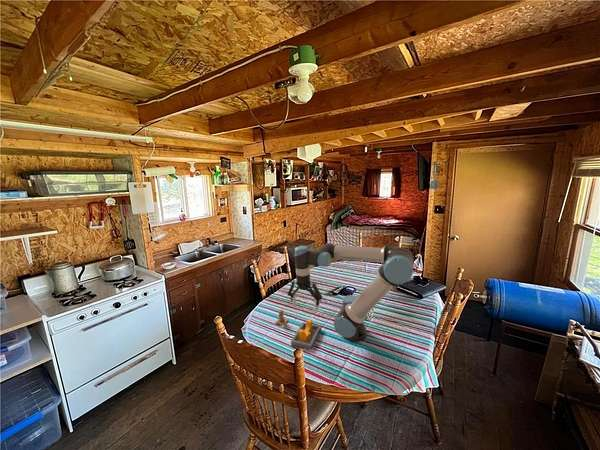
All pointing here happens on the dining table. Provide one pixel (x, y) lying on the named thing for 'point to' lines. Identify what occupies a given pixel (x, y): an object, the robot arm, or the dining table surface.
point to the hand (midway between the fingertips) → (305, 308)
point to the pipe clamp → (306, 332)
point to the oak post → (281, 318)
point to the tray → (310, 343)
